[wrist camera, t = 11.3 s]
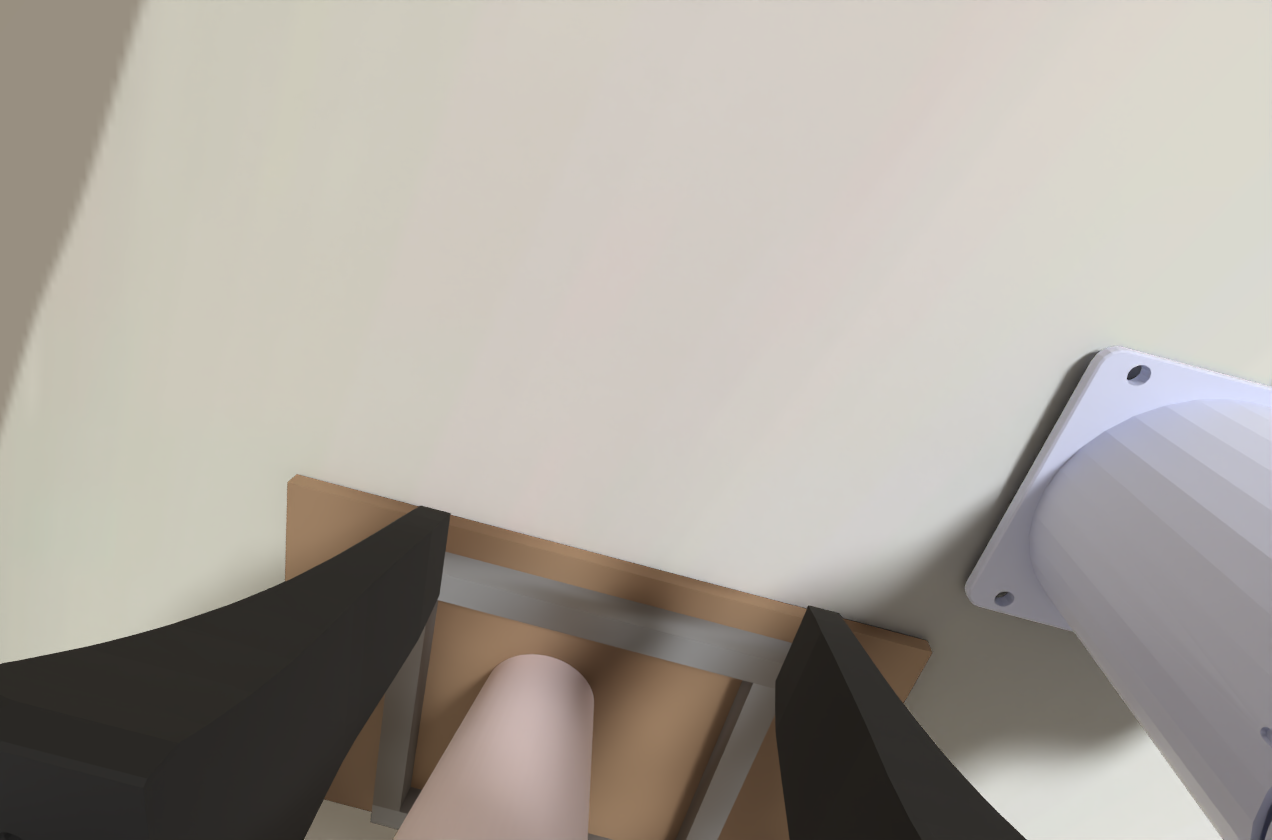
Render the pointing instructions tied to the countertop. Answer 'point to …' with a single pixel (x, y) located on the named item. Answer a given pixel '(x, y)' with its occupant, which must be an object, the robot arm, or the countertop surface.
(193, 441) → the countertop surface
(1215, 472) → the robot arm
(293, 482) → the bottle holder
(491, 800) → the smoothie
